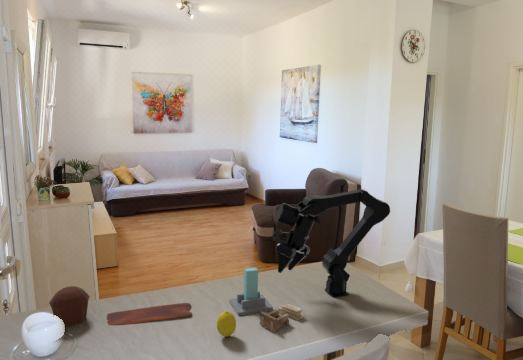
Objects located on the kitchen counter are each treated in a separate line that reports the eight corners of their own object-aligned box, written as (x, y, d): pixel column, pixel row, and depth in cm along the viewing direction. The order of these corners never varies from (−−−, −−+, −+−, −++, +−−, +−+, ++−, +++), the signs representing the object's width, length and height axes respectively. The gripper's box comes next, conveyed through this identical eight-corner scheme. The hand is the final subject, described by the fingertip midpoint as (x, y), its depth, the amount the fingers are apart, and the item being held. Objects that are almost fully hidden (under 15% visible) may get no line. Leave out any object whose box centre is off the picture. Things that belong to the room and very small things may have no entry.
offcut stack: (283, 310, 140) (283, 301, 139) (303, 318, 135) (303, 309, 134) (277, 313, 137) (277, 304, 137) (297, 321, 132) (298, 312, 132)
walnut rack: (275, 317, 134) (275, 305, 134) (289, 324, 130) (289, 312, 129) (259, 325, 129) (260, 312, 129) (274, 332, 125) (274, 319, 124)
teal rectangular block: (255, 300, 143) (255, 267, 141) (257, 303, 141) (258, 270, 139) (243, 302, 142) (244, 268, 140) (246, 305, 140) (246, 271, 138)
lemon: (237, 340, 120) (238, 314, 119) (218, 343, 119) (218, 317, 118) (233, 330, 126) (233, 305, 124) (215, 333, 124) (215, 308, 123)
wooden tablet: (190, 304, 143) (190, 300, 143) (193, 319, 133) (193, 314, 133) (107, 313, 136) (107, 308, 136) (104, 329, 126) (104, 323, 126)
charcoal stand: (262, 297, 148) (262, 287, 148) (272, 310, 139) (273, 300, 138) (229, 302, 144) (229, 292, 144) (238, 315, 135) (238, 305, 134)
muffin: (85, 327, 126) (84, 296, 124) (45, 330, 124) (43, 299, 122) (93, 309, 137) (91, 280, 136) (56, 311, 135) (54, 282, 133)
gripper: (291, 221, 158) (275, 258, 159) (271, 220, 141) (253, 262, 142) (317, 233, 153) (301, 272, 154) (299, 234, 136) (281, 278, 137)
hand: (284, 271), depth 147 cm, fingers open, 9 cm apart
